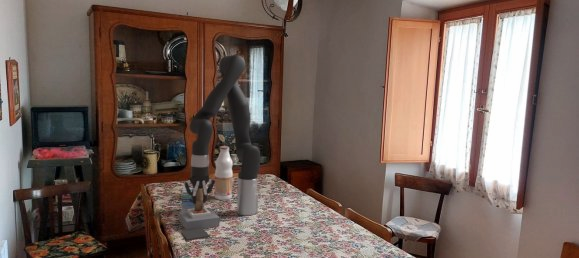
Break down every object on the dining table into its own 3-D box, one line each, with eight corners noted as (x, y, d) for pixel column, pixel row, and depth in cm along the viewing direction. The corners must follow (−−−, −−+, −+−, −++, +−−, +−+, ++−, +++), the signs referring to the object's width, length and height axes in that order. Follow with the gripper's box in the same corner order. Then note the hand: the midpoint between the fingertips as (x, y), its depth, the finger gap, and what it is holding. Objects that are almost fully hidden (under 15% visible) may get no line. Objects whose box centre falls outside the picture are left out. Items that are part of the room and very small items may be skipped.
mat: (202, 229, 159) (202, 228, 159) (209, 236, 152) (209, 235, 152) (181, 232, 155) (181, 231, 155) (187, 240, 147) (187, 239, 147)
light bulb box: (181, 214, 176) (181, 191, 175) (181, 209, 183) (181, 187, 181) (204, 213, 179) (205, 191, 178) (204, 208, 185) (204, 187, 184)
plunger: (201, 218, 168) (201, 208, 168) (204, 221, 165) (204, 211, 165) (193, 219, 166) (193, 209, 166) (195, 222, 163) (195, 212, 163)
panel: (209, 216, 176) (209, 204, 175) (219, 226, 163) (219, 213, 163) (178, 220, 168) (178, 208, 168) (186, 231, 156) (187, 218, 156)
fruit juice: (219, 201, 198) (221, 148, 195) (211, 196, 206) (212, 145, 203) (235, 198, 204) (236, 147, 201) (226, 194, 212) (227, 144, 209)
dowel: (201, 208, 168) (202, 186, 167) (204, 211, 165) (204, 188, 164) (193, 209, 166) (194, 187, 165) (195, 211, 163) (196, 189, 162)
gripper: (213, 162, 170) (211, 199, 172) (181, 163, 163) (180, 202, 165) (218, 165, 163) (217, 204, 165) (185, 167, 156) (184, 207, 158)
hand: (198, 203), depth 165 cm, fingers closed on dowel, 3 cm apart
